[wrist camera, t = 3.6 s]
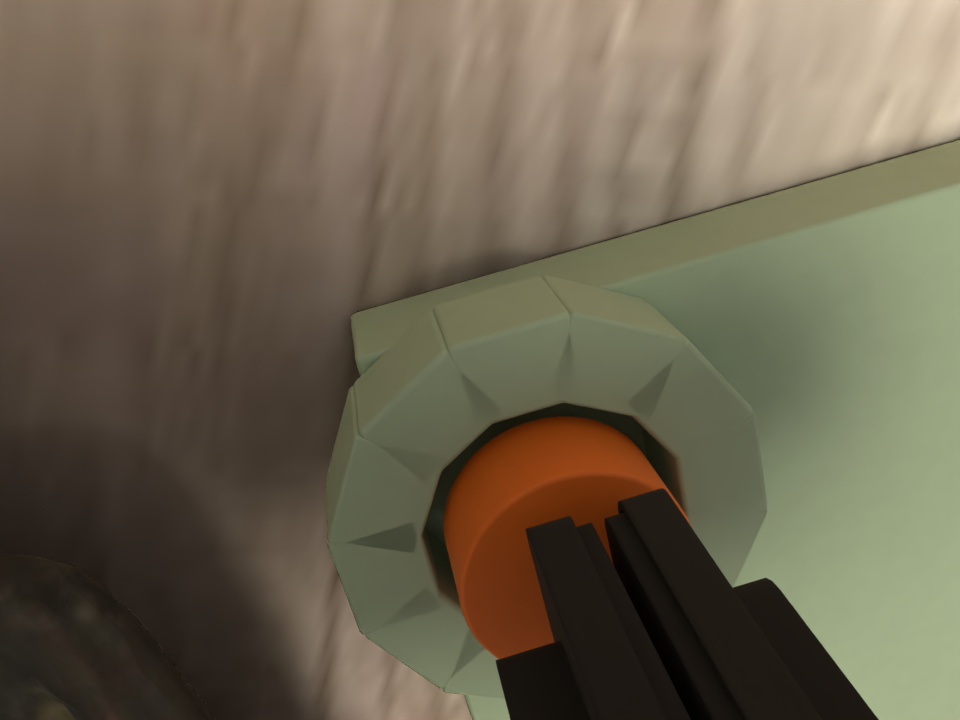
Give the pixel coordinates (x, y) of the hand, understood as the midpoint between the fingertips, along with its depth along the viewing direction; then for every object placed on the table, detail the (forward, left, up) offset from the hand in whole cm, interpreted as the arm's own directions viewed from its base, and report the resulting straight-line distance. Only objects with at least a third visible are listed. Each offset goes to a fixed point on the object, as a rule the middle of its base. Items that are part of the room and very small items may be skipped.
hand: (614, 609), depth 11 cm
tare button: (0, 0, -2) cm, 2 cm away
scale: (+4, -3, -5) cm, 7 cm away
